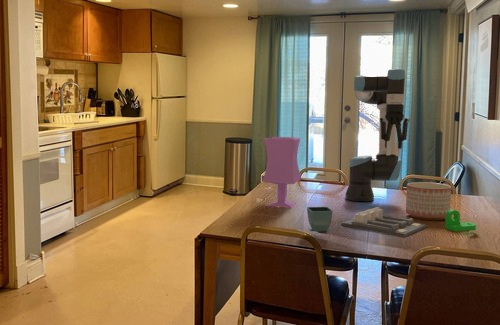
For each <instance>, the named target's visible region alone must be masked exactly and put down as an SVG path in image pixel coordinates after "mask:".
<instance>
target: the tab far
mask: <svg viewBox="0 0 500 325" xmlns="http://www.w3.org/2000/svg"><path fill="white" fill-rule="evenodd" d="M371 209H372V211H375V212H376V215H375V217H378V218H383V216H384V209H383V208H380V206H376V207H373V208H371Z"/></svg>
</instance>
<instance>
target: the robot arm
mask: <svg viewBox="0 0 500 325" xmlns="http://www.w3.org/2000/svg"><path fill="white" fill-rule="evenodd" d="M405 70H406V69H402V68H391V69H388V70H387V75H355V76H354V79H353V90H354V96H355V97H356V99H357V100H358V101H360V102H362V103H363V104H367V105H376V108H377V110H379V128H378V129H379V134H378V137H379V138H378V153H377V154H376V155H375V158H373V156H372V155H359V156H354V157H352V158H350V159H349V166H348V168H349V174H348V175H349V176H348V179H349V180H348V186H347V189H346V192H345V196H344V197H345V199H346V200H349V201H354V202H355V201H356V202H371V201H374V200H375V193H374V191H373V188H372V181H383V182H385V181H387V182H390V181H391V182H394V181H398V180H399V177H400V175H401V170H402V168H401V167H402V159H400V158H399V157H400V155H401V149H402V148H403V142H404V141H407V136H408V128H409V123H410V121H411V119H410V118H408V117H405V115H404V110H405V109H404V107H405V106H404V103H405V83H406V82H405V79H406V71H405ZM401 122H403V124H402V123H401ZM396 138H397V139H396Z"/></svg>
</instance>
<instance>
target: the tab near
mask: <svg viewBox="0 0 500 325" xmlns="http://www.w3.org/2000/svg"><path fill="white" fill-rule="evenodd" d="M353 216H354V217H353V219H354V222H360V223H366V224H367V222H368V214H364V212H363V211H359V212H356V213H354V215H353Z"/></svg>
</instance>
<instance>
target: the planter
mask: <svg viewBox="0 0 500 325" xmlns="http://www.w3.org/2000/svg"><path fill="white" fill-rule="evenodd" d="M451 197H452V186H451V185H449V184H446V183H445V184H444V183H437V182H429V181H428V182H427V181H426V182H424V181H421V182H418V181H415V182H408V183H407V184H406V198H405V199H406V202H405V213H406V214H408V215H409V217H410V218H413V219H418V220H422V221H423V220H425V221H442V220H445V219H446V213H447V212H448V211H449V210H450V209H451V200H452V198H451Z"/></svg>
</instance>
